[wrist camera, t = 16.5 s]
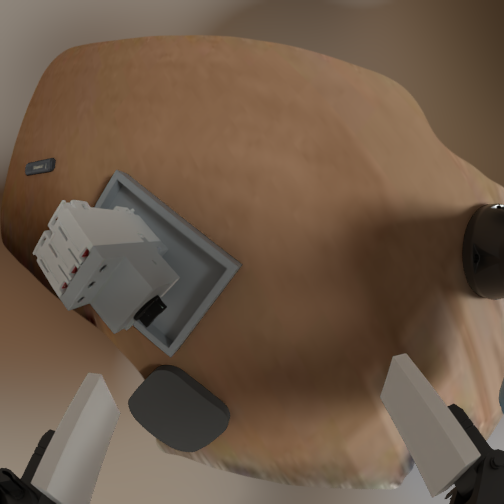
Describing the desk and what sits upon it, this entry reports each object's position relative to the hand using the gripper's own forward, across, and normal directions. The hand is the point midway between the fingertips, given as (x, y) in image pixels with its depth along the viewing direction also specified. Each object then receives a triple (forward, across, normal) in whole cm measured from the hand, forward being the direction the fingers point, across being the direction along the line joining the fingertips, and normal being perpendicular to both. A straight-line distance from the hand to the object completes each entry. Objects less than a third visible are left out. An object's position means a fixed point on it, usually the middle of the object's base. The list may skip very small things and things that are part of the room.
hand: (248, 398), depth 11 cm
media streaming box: (+23, +12, +27) cm, 37 cm away
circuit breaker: (+28, +13, +3) cm, 31 cm away
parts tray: (+28, +13, +3) cm, 31 cm away
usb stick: (+37, +38, -15) cm, 55 cm away
